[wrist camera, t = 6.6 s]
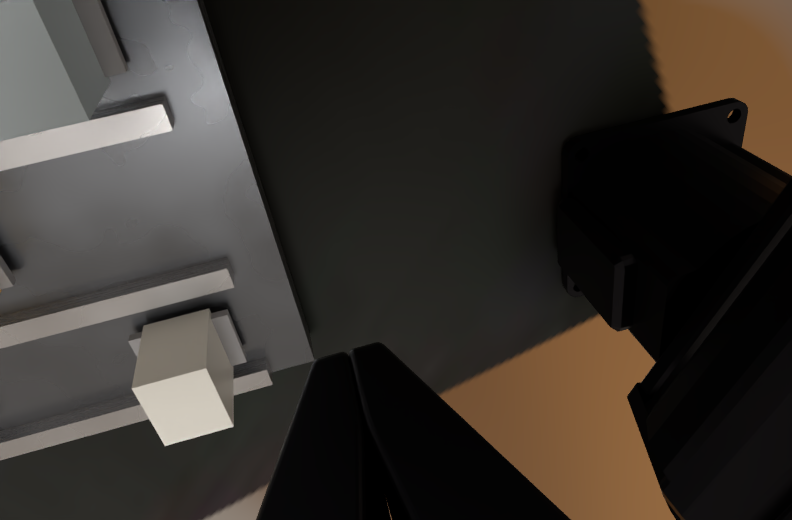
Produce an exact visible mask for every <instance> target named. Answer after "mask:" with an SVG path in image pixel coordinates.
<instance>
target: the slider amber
mask: <svg viewBox="0 0 792 520" xmlns="http://www.w3.org/2000/svg"><path fill="white" fill-rule="evenodd" d="M15 282H16V278H15V277H14V275H13V274H12V272H11V271H10V269H9V268H8V266H7V264H6V263H5V261H4V260H3V258H2V257H1V255H0V293H1V291H2V290H1V289H4V288H8V287H12V286H14V284H15Z"/></svg>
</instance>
